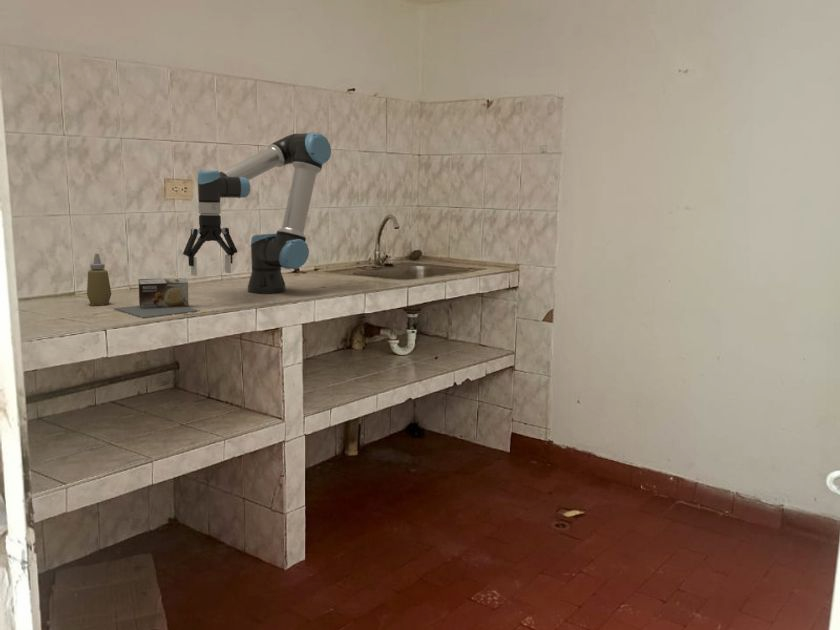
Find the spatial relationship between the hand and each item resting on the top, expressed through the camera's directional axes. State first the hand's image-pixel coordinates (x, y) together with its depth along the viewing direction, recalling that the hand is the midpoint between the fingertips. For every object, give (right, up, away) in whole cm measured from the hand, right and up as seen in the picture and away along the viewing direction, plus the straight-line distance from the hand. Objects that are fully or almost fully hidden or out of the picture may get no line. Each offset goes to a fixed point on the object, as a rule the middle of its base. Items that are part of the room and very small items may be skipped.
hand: (211, 274), depth 267 cm
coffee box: (-7, -6, -4) cm, 11 cm away
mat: (-15, -13, -13) cm, 24 cm away
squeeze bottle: (-39, -11, -3) cm, 40 cm away
